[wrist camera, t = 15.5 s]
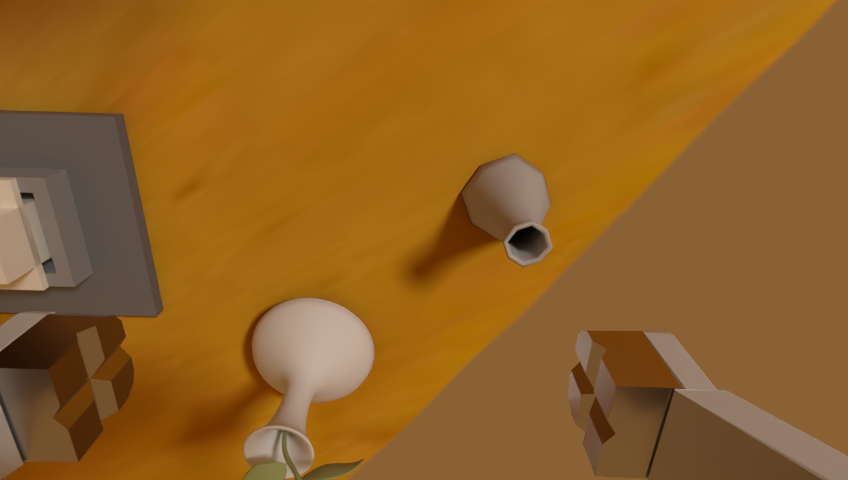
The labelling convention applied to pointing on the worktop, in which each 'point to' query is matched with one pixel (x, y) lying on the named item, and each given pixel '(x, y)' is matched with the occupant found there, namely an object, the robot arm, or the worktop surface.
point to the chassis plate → (81, 213)
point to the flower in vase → (304, 381)
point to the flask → (511, 207)
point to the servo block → (21, 240)
